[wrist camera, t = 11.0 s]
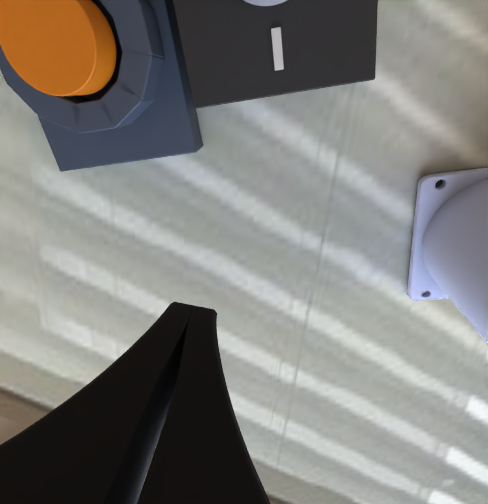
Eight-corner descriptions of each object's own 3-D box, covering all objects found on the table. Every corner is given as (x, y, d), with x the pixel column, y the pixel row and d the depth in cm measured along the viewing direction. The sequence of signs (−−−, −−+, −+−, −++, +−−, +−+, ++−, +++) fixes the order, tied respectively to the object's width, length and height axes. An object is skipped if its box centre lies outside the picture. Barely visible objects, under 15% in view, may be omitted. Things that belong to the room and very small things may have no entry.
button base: (-11, -66, 14) (-91, -109, 11) (152, -109, 13) (115, -170, 10) (77, 164, 18) (37, 180, 15) (203, 146, 17) (188, 159, 14)
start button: (12, -2, 12) (-25, -14, 11) (98, -21, 12) (72, -37, 10) (51, 101, 14) (24, 103, 12) (128, 87, 13) (110, 88, 12)
